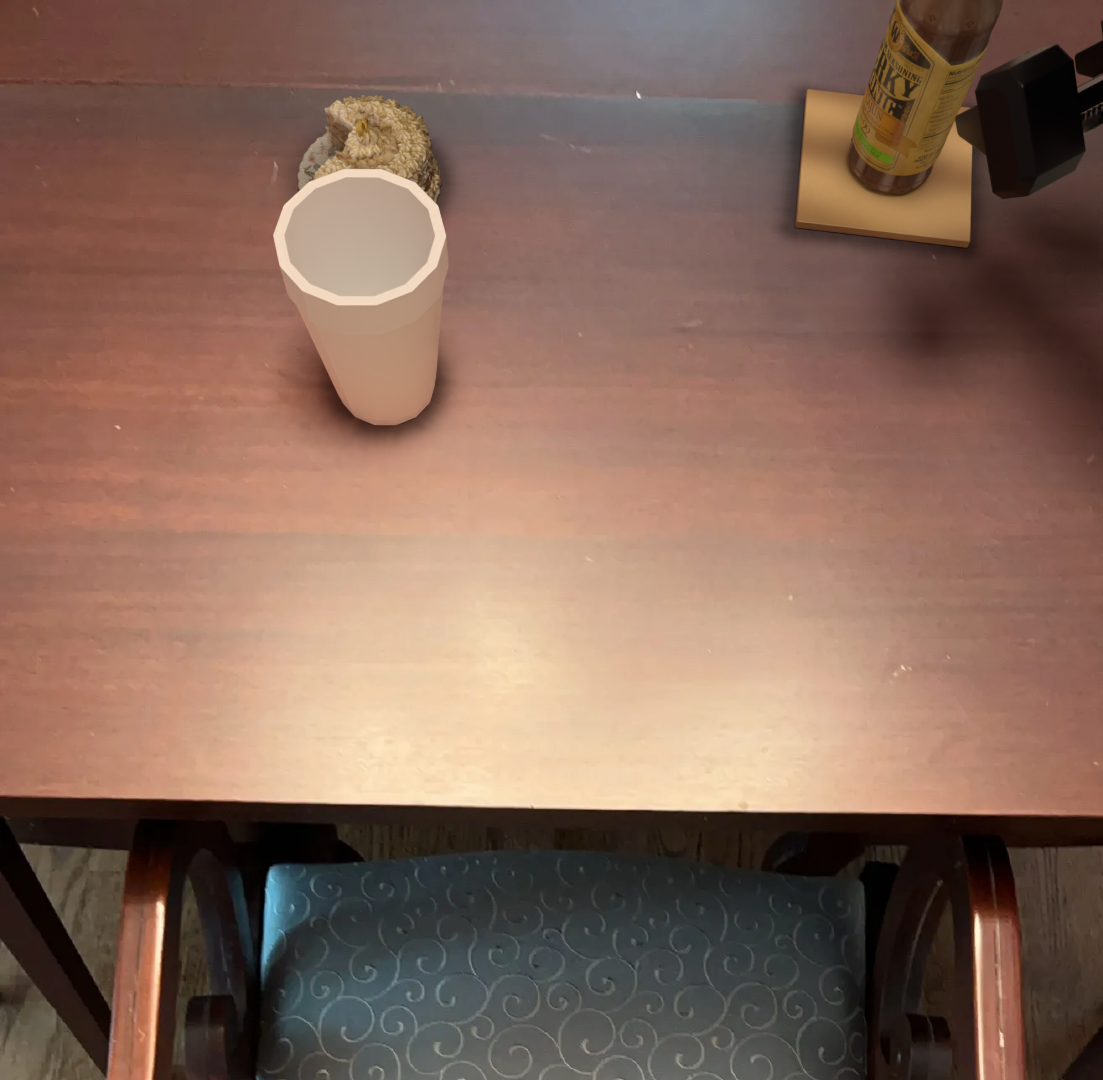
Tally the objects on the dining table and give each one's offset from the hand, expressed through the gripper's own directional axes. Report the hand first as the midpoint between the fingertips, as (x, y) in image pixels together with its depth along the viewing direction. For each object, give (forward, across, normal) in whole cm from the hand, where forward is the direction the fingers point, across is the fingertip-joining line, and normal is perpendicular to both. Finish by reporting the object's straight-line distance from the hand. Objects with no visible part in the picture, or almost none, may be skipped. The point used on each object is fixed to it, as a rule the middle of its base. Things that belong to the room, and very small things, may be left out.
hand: (1018, 93), depth 70 cm
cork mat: (+14, 0, +3) cm, 14 cm away
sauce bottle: (+13, 0, +3) cm, 14 cm away
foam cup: (+16, +39, +1) cm, 42 cm away
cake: (+27, +32, -10) cm, 42 cm away
